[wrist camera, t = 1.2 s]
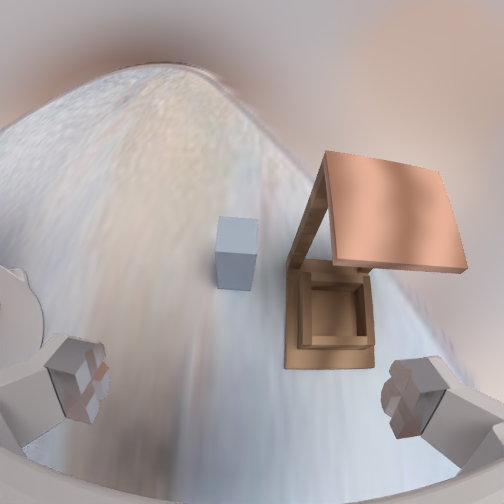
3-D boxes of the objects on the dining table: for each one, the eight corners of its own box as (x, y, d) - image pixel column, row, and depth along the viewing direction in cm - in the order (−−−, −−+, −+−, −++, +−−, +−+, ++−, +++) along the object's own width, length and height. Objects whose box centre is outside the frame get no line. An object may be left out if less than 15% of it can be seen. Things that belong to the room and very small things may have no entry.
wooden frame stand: (284, 368, 35) (341, 329, 17) (286, 260, 41) (325, 150, 24) (371, 368, 35) (478, 325, 18) (364, 266, 42) (439, 171, 24)
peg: (218, 288, 39) (214, 251, 30) (220, 259, 41) (219, 216, 32) (250, 291, 39) (256, 254, 30) (251, 261, 41) (258, 219, 32)
